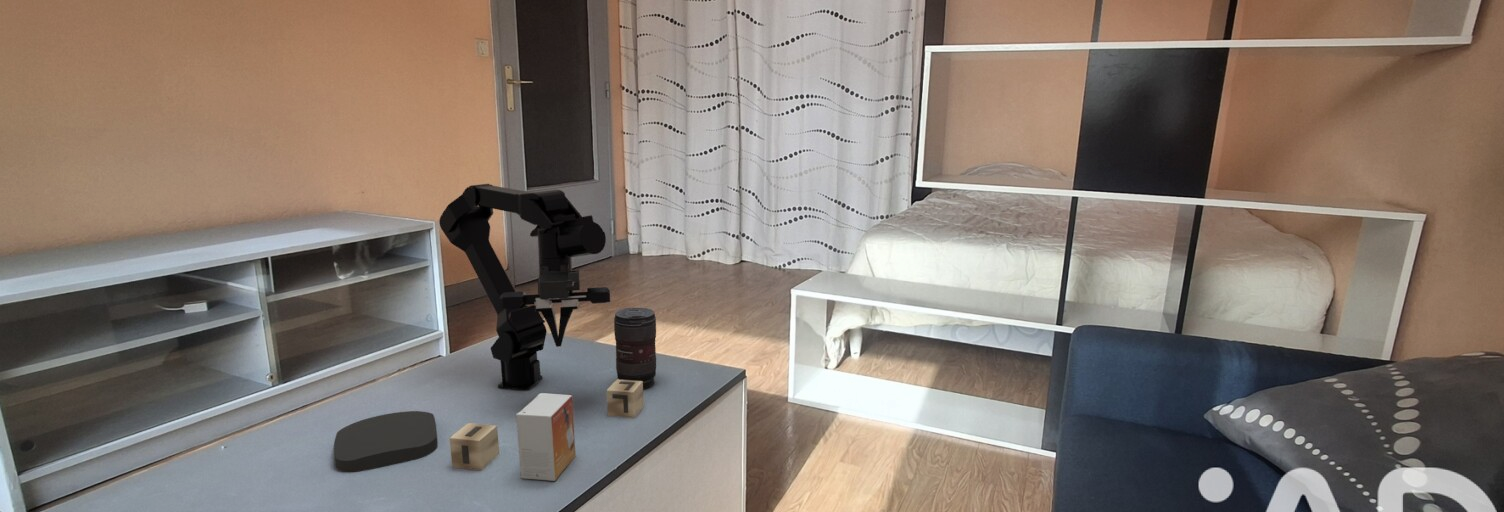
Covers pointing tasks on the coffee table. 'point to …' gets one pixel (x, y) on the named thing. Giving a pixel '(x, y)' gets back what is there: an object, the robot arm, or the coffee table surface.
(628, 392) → the marked block right
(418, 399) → the coffee table surface
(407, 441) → the media streaming box
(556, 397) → the small box
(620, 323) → the camera lens
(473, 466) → the marked block left
